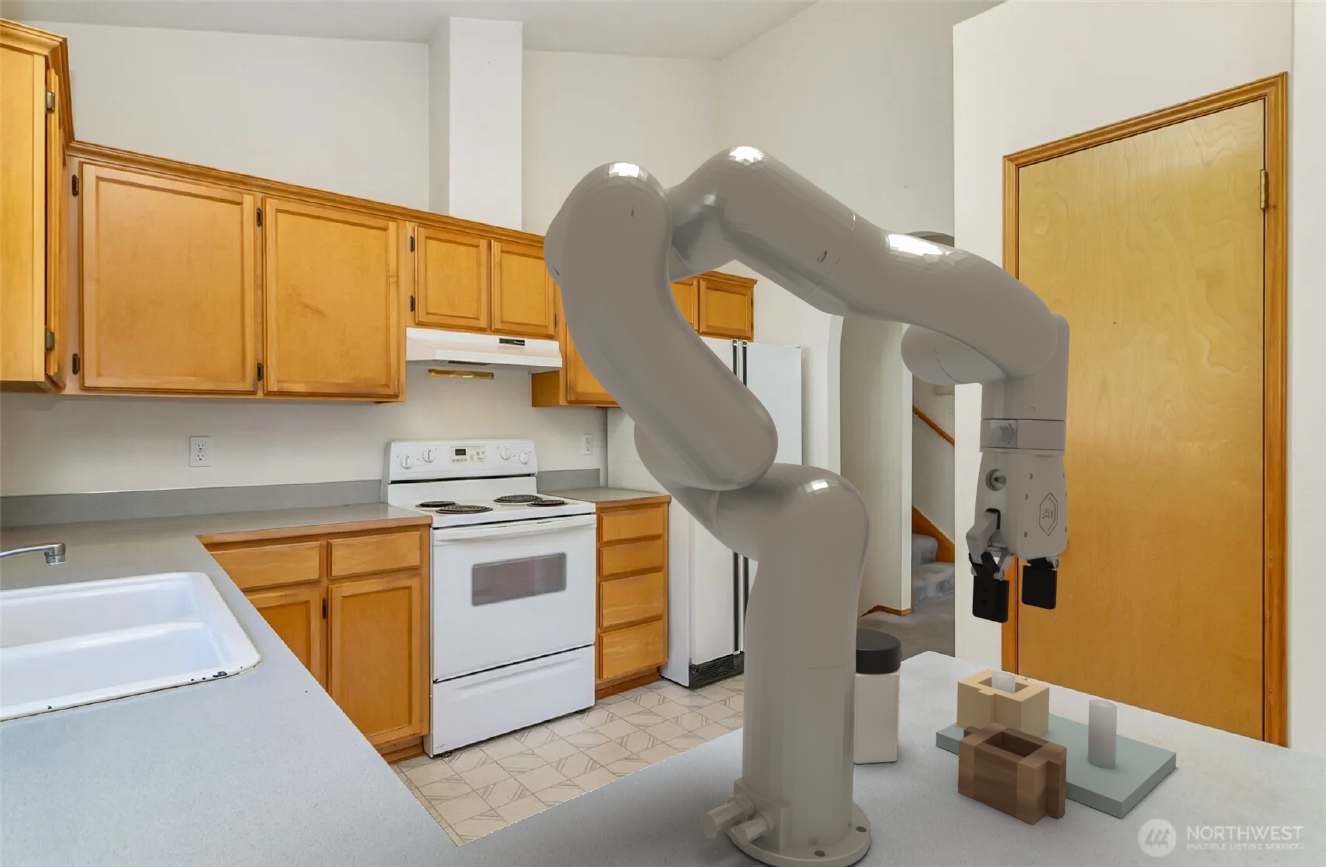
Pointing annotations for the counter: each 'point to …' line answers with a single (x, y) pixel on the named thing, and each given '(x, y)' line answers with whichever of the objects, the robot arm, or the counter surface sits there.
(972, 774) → the ribbed wooden holder
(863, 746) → the jar
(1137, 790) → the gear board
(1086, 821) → the counter surface
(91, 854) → the counter surface
